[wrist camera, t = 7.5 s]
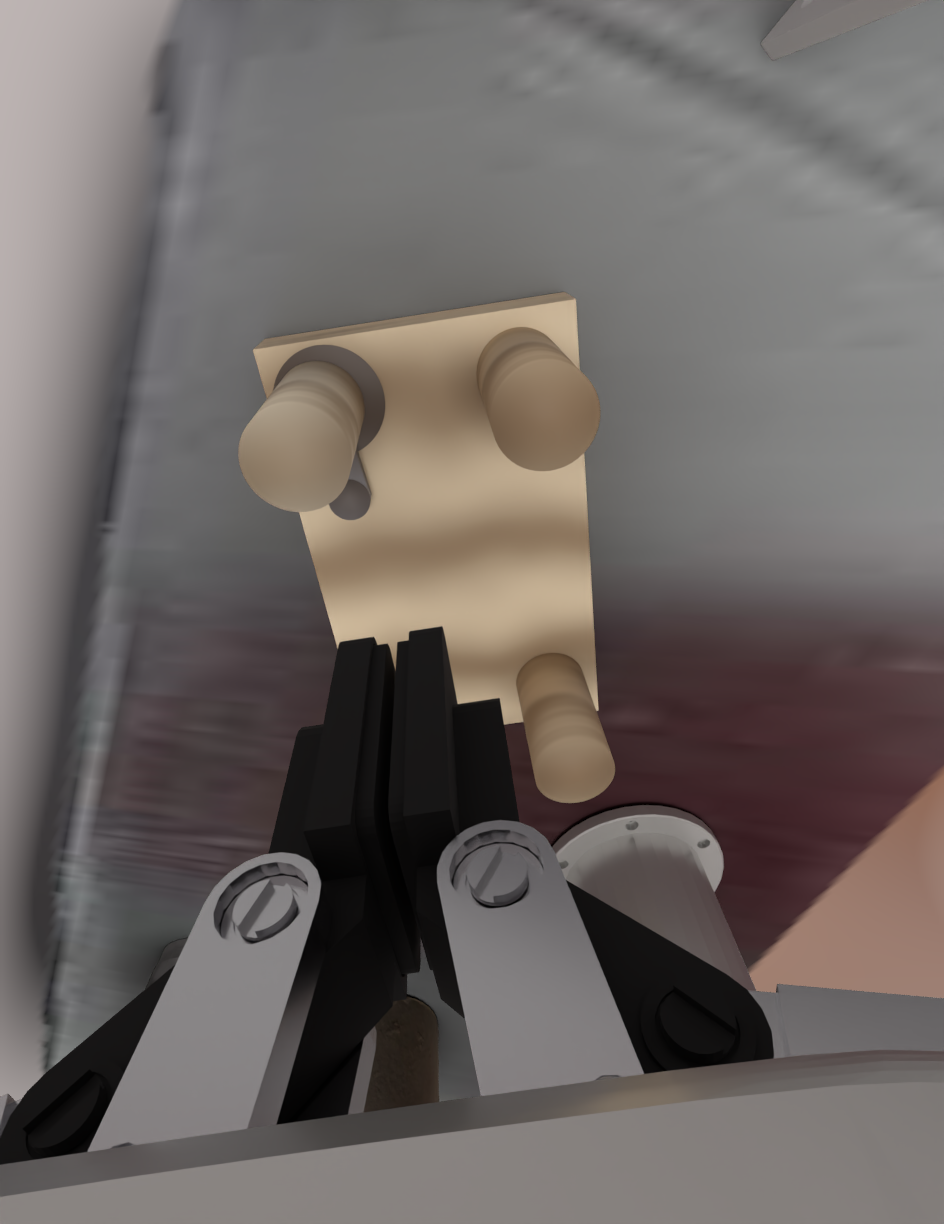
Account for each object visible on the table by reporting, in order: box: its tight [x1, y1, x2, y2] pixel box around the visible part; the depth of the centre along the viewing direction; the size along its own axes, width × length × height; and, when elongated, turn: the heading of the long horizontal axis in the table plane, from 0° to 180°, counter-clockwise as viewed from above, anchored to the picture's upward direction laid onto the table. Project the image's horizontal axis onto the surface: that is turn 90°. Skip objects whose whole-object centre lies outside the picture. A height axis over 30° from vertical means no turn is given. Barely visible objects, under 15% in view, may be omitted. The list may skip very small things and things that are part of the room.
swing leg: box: [238, 361, 372, 520], centre depth 27 cm, size 7×4×7 cm, turn 13°
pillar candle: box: [363, 997, 439, 1113], centre depth 51 cm, size 10×10×15 cm
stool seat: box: [253, 292, 615, 803], centre depth 31 cm, size 21×13×10 cm, turn 8°
